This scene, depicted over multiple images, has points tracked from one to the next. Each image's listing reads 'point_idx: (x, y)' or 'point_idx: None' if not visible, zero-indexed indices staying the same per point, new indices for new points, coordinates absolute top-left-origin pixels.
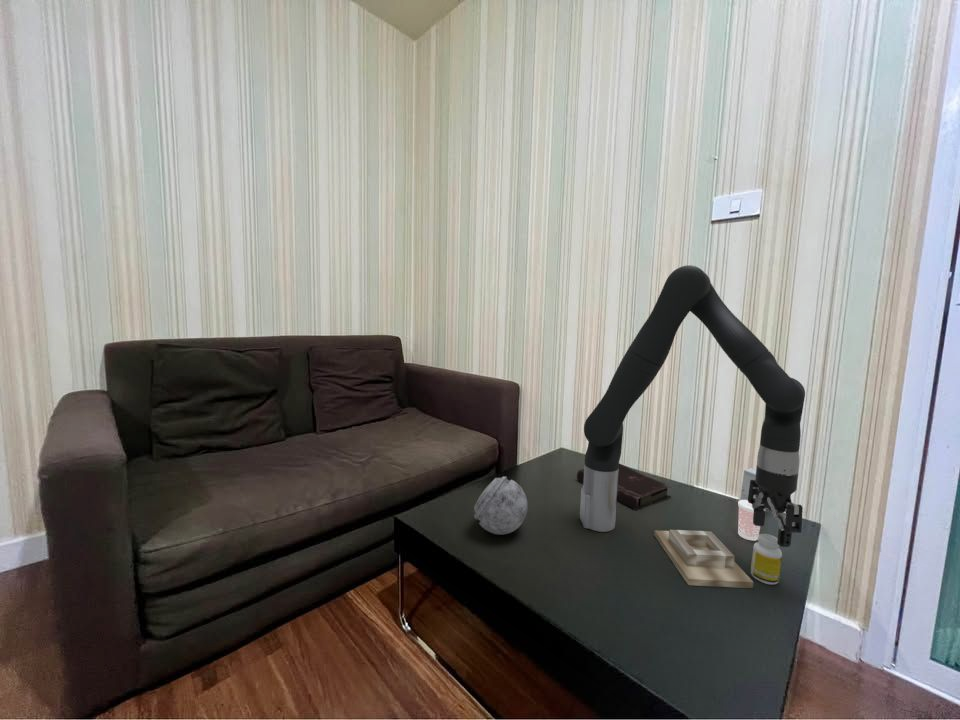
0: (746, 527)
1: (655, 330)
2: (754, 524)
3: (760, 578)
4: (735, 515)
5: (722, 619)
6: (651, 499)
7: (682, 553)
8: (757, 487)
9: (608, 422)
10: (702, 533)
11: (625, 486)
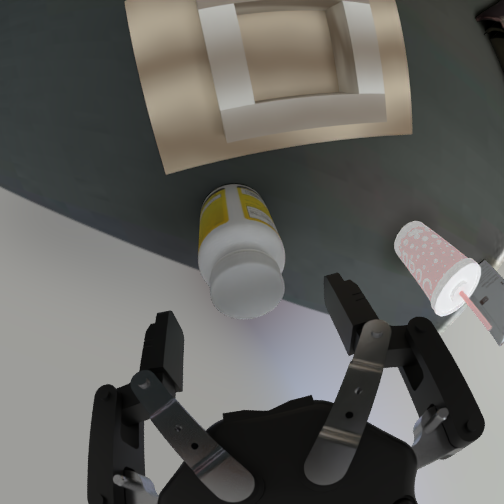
0: (417, 245)
1: None
2: (327, 275)
3: (206, 200)
4: (467, 241)
5: (30, 82)
6: None
7: None
8: (430, 430)
9: None
10: (368, 83)
11: None
